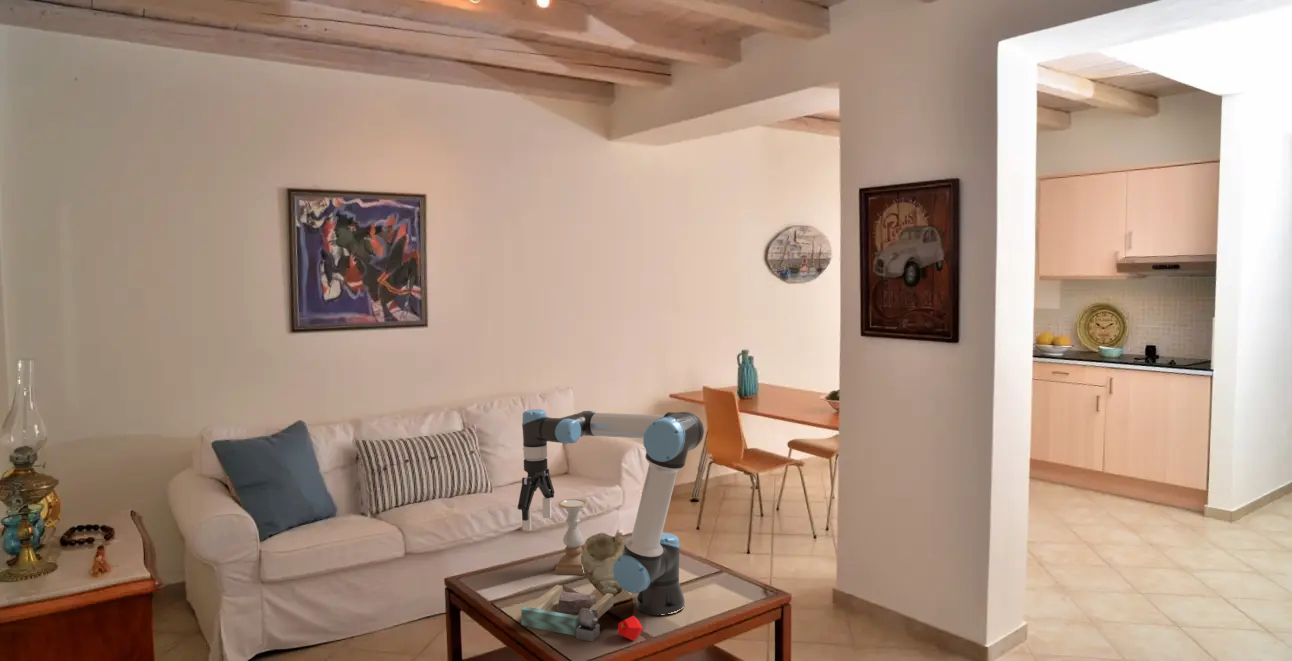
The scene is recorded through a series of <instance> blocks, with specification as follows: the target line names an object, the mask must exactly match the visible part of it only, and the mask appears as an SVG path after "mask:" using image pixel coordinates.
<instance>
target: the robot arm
mask: <svg viewBox="0 0 1292 661" xmlns="http://www.w3.org/2000/svg"><path fill="white" fill-rule="evenodd" d="M521 422H522V423H521V427H522V428H521V429H522V439H523V440H522V445H523V446H522V450H523V458H524V460H523V471H524V472H525V473H527V476H526V477H521V488H520V493H519V499H518V503H517V510H519V511H521V519H522V520H521V522H522V523H521V524H522V525H521V526H522V530H523V531H530V532H531V531H532V512H531V511H532V510H531V509H530V507H531V504H532V501H533V497H534V494H535V492H536V491H537V490H538V489H539V491H540V492H541V494H542V496H543V497H542V499H541V500H542V518H543V519H552V498H553V499H554V497H555V489H554V485H553V482H552V479H551V476H550V468H548V458H547V457H548V442H549V443H550V442H551V443H557V444H558V443H559V444H560V443H561V444H563V445H567V444H576V443H577V441H578V440H579V439H580V438H581V437H587V436H588V437H606V438H623V439H624V438H625V439H627V438H628V439H639V440H641V439H642V440H643V442H642V443H643V447H644V449H645V452H646V453H645V460H646V461H647V462H648V467H647V471H646V476H645V480H644V483H643V484H644V485H643V488H642V492H641V497H640V501H639V505H638V509H637V514H636V517H635V522H634V525H633V528H632V529H633V530H632V535H631V536H630V537H627V538H626V539H625V542H624V546H623V550H622V553H621V555H620V556H618V557H617V559H616V560H615V561H614V563H613V565H612V574H613V578H614V580H615V581H616V583H617V584H618V586H619V587H620V588H621V589H622V590H624V591H626V592H627V593H631V594H637V596H636V601H635V602H636V603H635V604H636V608H637V610H638V611H639V612H642V613H644V614H647V615H651V616H659V615H661V614H668V613H671V612H674V611H677V610H679V609H681V608H682V607H683V606H684V607H685V597H684V594H683V591H682V587H681V585H680V548H681V547H680V539H679V537H678V536H677V535H676V534H673V533H669V532H664V527H665V524H666V520H667V517H668V512H669V508H670V504H671V500H672V499H671V498H672V496H673V495H672V494H673V491H674V488H675V484H676V480H677V476H678V472H679V471H680V470H682V469H684V467H685V464H686V460H687V457H688V453H689V452H690V451H691V450H694V449H695V448H697V447H698V446H699V445H700V444H701V442H702V440H703V438H704V434H705V433H704V432H705V428H704V424H703V422H702V421H701V419H700V418H699V416H697V415H696V414H694V413H693V412H689V411H675V412H672V411H667V412H665V413H664V414H663V415H662V414H641V413H640V414H638V413H636V414H635V413H616V412H615V413H610V412H595V411H594V410H583V411H581V412H578V413H574V414H571V415H567V416H566V415H565V416H562V417H548V416H547V412H546V410H544V409H540V408H536V409H535V408H533V409H527V410H525V411H523V413H522V421H521Z"/></svg>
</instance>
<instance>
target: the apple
mask: <svg viewBox="0 0 1292 661" xmlns="http://www.w3.org/2000/svg"><path fill="white" fill-rule="evenodd" d="M617 626H618V628H617V633H618V634H619V635H620V636H621V637H623V638H624V639H628V640H629V639H630V640H629V641H632V640H634V639H635V640H636V638H637V637H638V636H639V637H640V635H641V634H642V631H643V629H644V628H643V626H642V624H641V622H640V620H638V618H637V617H636V616H635V615H632V616H630V617H628V618H626V619H623V620H621V621H620V622H618V623H617ZM639 637H638V638H639ZM638 638H637V639H638ZM635 640H634V641H635Z"/></svg>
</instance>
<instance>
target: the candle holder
mask: <svg viewBox="0 0 1292 661" xmlns="http://www.w3.org/2000/svg"><path fill="white" fill-rule="evenodd" d="M587 506H588V501H587V500H585V499H582V498H567V499H562V500H560V501H559V502H558V507H559V508H561V509H564V510H565V512H567V518H566V519H565V523H566V524H567V526H568V527H567V531H566V532H565V533H564V535H563V538H562V543H563V544H564V545H565V546H566V547H564V553H565V554H563V555H562V556H561V557H560V559H559V561H558V563H557V564H556V566H555V569H554V570H555V571H554V573H555V575H566V576H567V575H570V576H571V575H573V576H585V575H584V573H583V569H582V565H581V555H583V554H582V551H583V548H582V545H583V543H584V540H585V539H584V536H583V534H582V532H581V531H580V529H579V524H580V523H581V518H580V516H579V513H580V511H581V510H582V509H585V508H586V507H587Z"/></svg>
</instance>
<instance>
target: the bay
mask: <svg viewBox="0 0 1292 661" xmlns="http://www.w3.org/2000/svg"><path fill="white" fill-rule="evenodd" d="M563 588H564V587H563V585H560V584H556V585H555V586H553V587H552V588H551V589H550V590H548V591H546V593H544V594H543V595H541V596H540V597H539V598H538V599H536V600H535V601H533V602H531V603H530V604H529V605H528V606H524V607H522V608H521V609H520V610H521V611H520V613H521V626H522V625H524V626H523V627H527V626H528V627H529V628H533V629H534V628H535V629H539V630H545V631H547V632H548V631H550V632H555V633H559V634H564V635H565V634H566V635H569V636H575V637H576V628H577V627H578V626H579V624H578V615H573V614H570V613H559V612H558V611H551V610H547V609H548V608H549V607H551V606H552V605H553V604H555V603H556V602H558V601H559V599H560V595H561V592H564V590H563ZM613 606H614V594H613V593H606V594H605V595H603V596H602V597H601V598H600V599H599V600H597V601H596V603H595V605H593V606H592V607H591V608H590V609H593V610H597V612H598V619H600V618H601V617H602V616H603V615H604V614H605V613H606V612H607V611H608V610H610V609H611V608H612V607H613Z"/></svg>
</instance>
